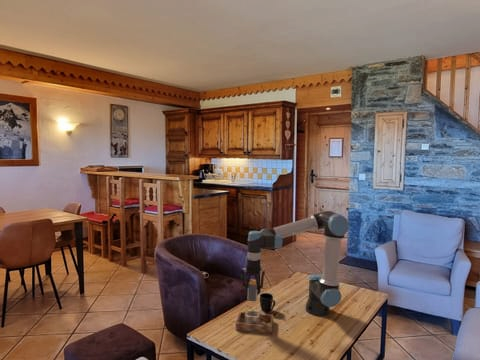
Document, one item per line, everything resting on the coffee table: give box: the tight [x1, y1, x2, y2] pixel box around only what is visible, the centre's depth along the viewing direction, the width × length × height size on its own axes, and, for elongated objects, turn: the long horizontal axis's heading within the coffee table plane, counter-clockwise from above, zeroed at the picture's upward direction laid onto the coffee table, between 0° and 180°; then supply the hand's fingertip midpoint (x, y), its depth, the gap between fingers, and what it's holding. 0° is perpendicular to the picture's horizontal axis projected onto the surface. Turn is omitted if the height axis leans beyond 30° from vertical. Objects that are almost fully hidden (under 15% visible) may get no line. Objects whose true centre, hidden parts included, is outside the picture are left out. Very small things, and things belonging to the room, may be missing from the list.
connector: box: [247, 278, 257, 302], centre depth 185 cm, size 4×4×11 cm
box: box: [235, 309, 274, 335], centre depth 186 cm, size 20×14×7 cm
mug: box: [259, 292, 276, 313], centre depth 204 cm, size 8×12×10 cm
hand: (252, 298), depth 185 cm, fingers closed on connector, 4 cm apart
